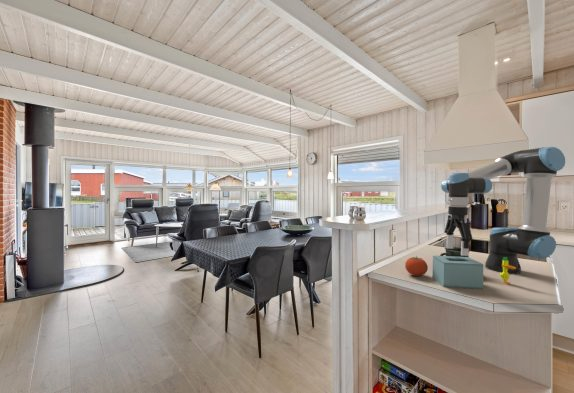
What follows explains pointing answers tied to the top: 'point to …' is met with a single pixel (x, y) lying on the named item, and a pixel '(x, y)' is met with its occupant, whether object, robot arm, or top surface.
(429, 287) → the top surface
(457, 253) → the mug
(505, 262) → the toy figure
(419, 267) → the tomato
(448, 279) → the coin box
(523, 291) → the top surface
